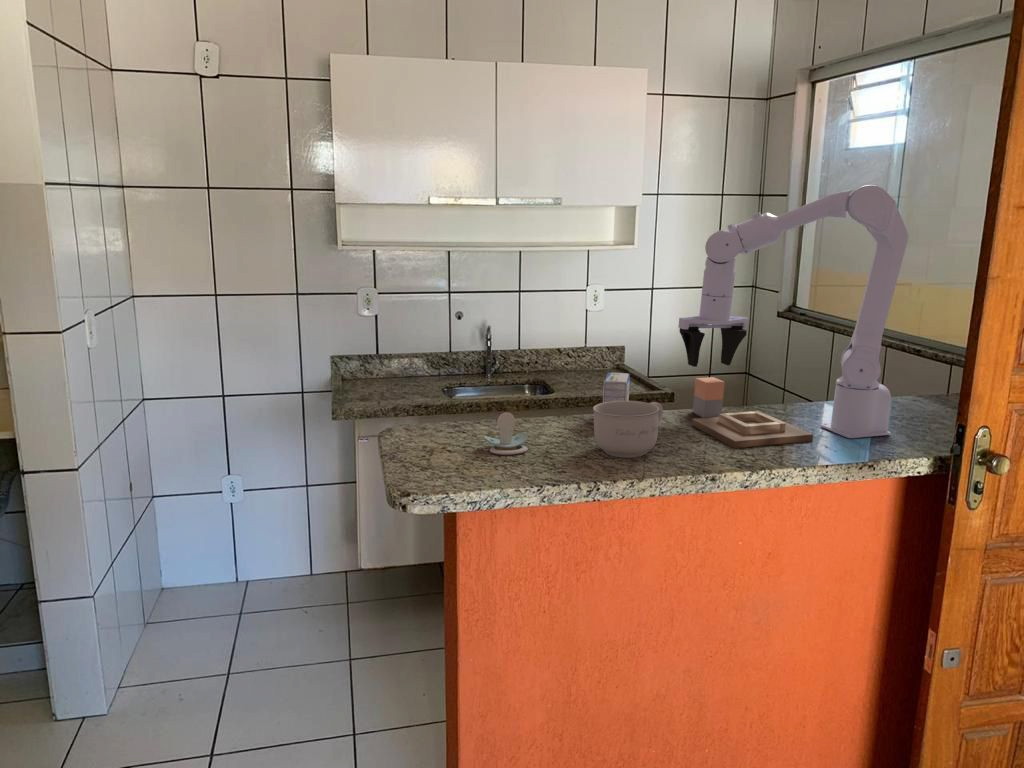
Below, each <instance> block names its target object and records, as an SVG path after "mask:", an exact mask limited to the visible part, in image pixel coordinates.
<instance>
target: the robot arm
mask: <svg viewBox="0 0 1024 768" xmlns="http://www.w3.org/2000/svg"><path fill="white" fill-rule="evenodd" d="M846 212H847V213H848V215H849V216H850V218H852V219H853V220H854V221H856V222H857V223H859V224H860V225H861V226H863V227H865V228H866V230H867V232H868V233H869V234H870V236H871V237H872V238H873V240H874V241H875V243H876V246H875V250H874V253H873V257H872V261H871V265H870V269H869V273H868V275H867V276H868V277H867V281H866V284H865V288H864V292H863V296H862V300H861V304H860V308H859V311H858V316H857V319H856V323H855V327H854V331H853V332H852V335H851V339H850V342H849V344H848V346H847V348H845V349H844V350H843V352H842V354H841V356H840V361H839V362H840V366H841V376H840V377H838V378H837V379H836V381H835V389H834V397H833V406H832V411H831V412H832V413H831V414H832V415H831V422H827V423H820V424H819V427H820V428H823V429H825V430H828V431H831V432H832V433H835V434H838V435H840V436H842V437H845V438H848V439H858V438H868V437H870V438H871V437H879V436H880V437H881V436H890V435H891V431H889V429H888V428H889V422H890V415H891V408H892V407H891V406H892V394H891V391H890V389H888V388H887V386H885V385H883V384H882V383H880V382H879V381H878V380H879V378H880V376H881V372H882V371H881V370H882V368H881V363H880V360H879V359H880V353H881V348H882V340H883V339H882V338H883V334H884V331H885V328H886V327H885V326H886V323H887V319H888V316H889V311H890V308H891V306H892V305H891V304H892V300H893V298H894V297H893V296H894V293H895V290H896V285H897V282H898V278H899V275H900V271H901V267H902V263H903V260H904V255H905V253H906V249H907V244H908V240H909V231H908V229H907V228H906V224H905V223H904V220H903V218H902V216H901V215H902V214H901V213H900V210H899V207H898V204H897V202H896V200H895V199H894V198H893V197H892V196H891V195H890V194H889V193H888V192H887V191H886V190H885V189H884V188H883V187H881V186H878V185H877V184H876V185H875V184H867V185H864V186H860V187H859V188H857V189H855V190H854V189H850V190H845V191H840V192H836V193H832V194H828V195H825V196H824V197H821V198H819V199H816V200H814V201H812V202H809V203H807V204H804V205H802V206H799V207H797V208H795V209H792V210H790V211H787V212H785V213H782V214H780V215H778V216H777V215H775V214H772V213H770V212H765V213H763V214H762V213H761V212H760V211H759V212H756V213H753V215H752V216H753V218H750V219H747V220H744V221H742V222H740V223H738V224H735V225H734V223H731V224H728V225H727V229H728V230H723V229H722V230H721V229H720V230H716V232H714V233H713V234H711V235H710V236H709V237H708V238H707V241H706V242H705V246H704V247H705V253H706V255H707V257H706V260H705V269H703V270H704V271H703V276H702V277H703V278H702V288H701V297H700V307H699V314H698V315H697V316H696V315H693V316H688V317H678V326H677V328H678V329H679V334H680V336H681V339H682V341H683V343H684V347H685V351H686V357H687V365H689V366H691V367H694V368H695V367H696V368H697V367H698V365H699V361H700V360H699V358H700V352H701V351H700V350H701V347H702V343H703V340H704V338H705V336H706V334H705V332H702V331H701V330H700V329H720V332H721V352H720V353H721V354H720V362H721V363H720V364H722V365H726V366H731V363H732V361H733V358H734V357H735V353H736V352H737V350H738V348H739V346H740V344H741V342H742V341H743V339H745V337H746V336H747V332H748V331H747V329H748V327H749V320H750V319H749V317H745V316H731V314H732V304H733V295H734V287H735V277H736V270H735V268H736V260H737V258H736V257H737V256H738V255H739V254H741V255H747V254H750V253H753V252H755V251H757V250H760V249H763V248H767V247H768V246H771V245H774V244H777V243H778V242H779V240H780V238H781V237H782V235H783V233H785V232H788V231H789V230H793V229H796V228H798V227H802V226H805V225H807V224H810V223H813V222H816V221H818V220H821V219H824V218H829V217H830V218H831V217H832V218H842V219H846V218H847V213H846Z"/></svg>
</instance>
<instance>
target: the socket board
mask: <svg viewBox="0 0 1024 768" xmlns="http://www.w3.org/2000/svg"><path fill="white" fill-rule="evenodd" d="M691 425H692V426H693V427H694V428H697V429H698V430H700V431H701V432H704V433H705V434H708V435H709V436H711V437H713V438H716V439H717V440H719V441H721V442H723V443H724V444H726V445H729V446H730V447H732V448H733V449H736V448H739V449H740V448H748V447H758V446H759V447H760V446H770V445H772V446H773V445H781V444H782V445H783V444H792V443H805V442H813V439H814V434H813V433H811V432H809V431H806V430H804V429H802V428H800V427H797V426H795V425H793V424H791V423H788V422H785V421H783V420H781V419H779V418H777V417H775V416H773V415H770V414H767V413H764V412H761V411H758V410H753V411H752V410H751V411H740V412H739V411H737V412H727V413H722V414H719V417H707V418H703V417H699V418H692V419H691Z"/></svg>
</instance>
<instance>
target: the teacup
mask: <svg viewBox="0 0 1024 768" xmlns="http://www.w3.org/2000/svg"><path fill="white" fill-rule="evenodd" d="M592 412H593V433H594V440H595V443H596V445H597V446H598V447H599V448H600V449H601V450H603V451H604V453H606V454H607V455H609V456H612V457H615V458H622V459H624V458H629V459H630V458H638V457H641V456H644V455H646V454H647V453H648V452H649V451H651V449H653V448H654V447H655V445H656V444H657V440H658V435H659V425H660V423H661V421H662V418H663V417H664V409H663V406H662V404H661V403H660V402H657V401H651V402H645V401H639V400H638V401H637V400H629V401H610V402H604V403H603V402H601V403H598V404H596V405H594V406H593V407H592Z"/></svg>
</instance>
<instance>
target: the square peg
mask: <svg viewBox="0 0 1024 768" xmlns="http://www.w3.org/2000/svg"><path fill="white" fill-rule="evenodd" d="M693 392H694V393H693V405H692V409H693V410H694V411H693V410H692V413H693V412H694V413H693V414H695V415H697V416H700V418H711V417H719V414H723V402H724V393H725V381H723V380H721V379H719V378H717V377H714V376H710V377H695V382H694V391H693Z"/></svg>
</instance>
